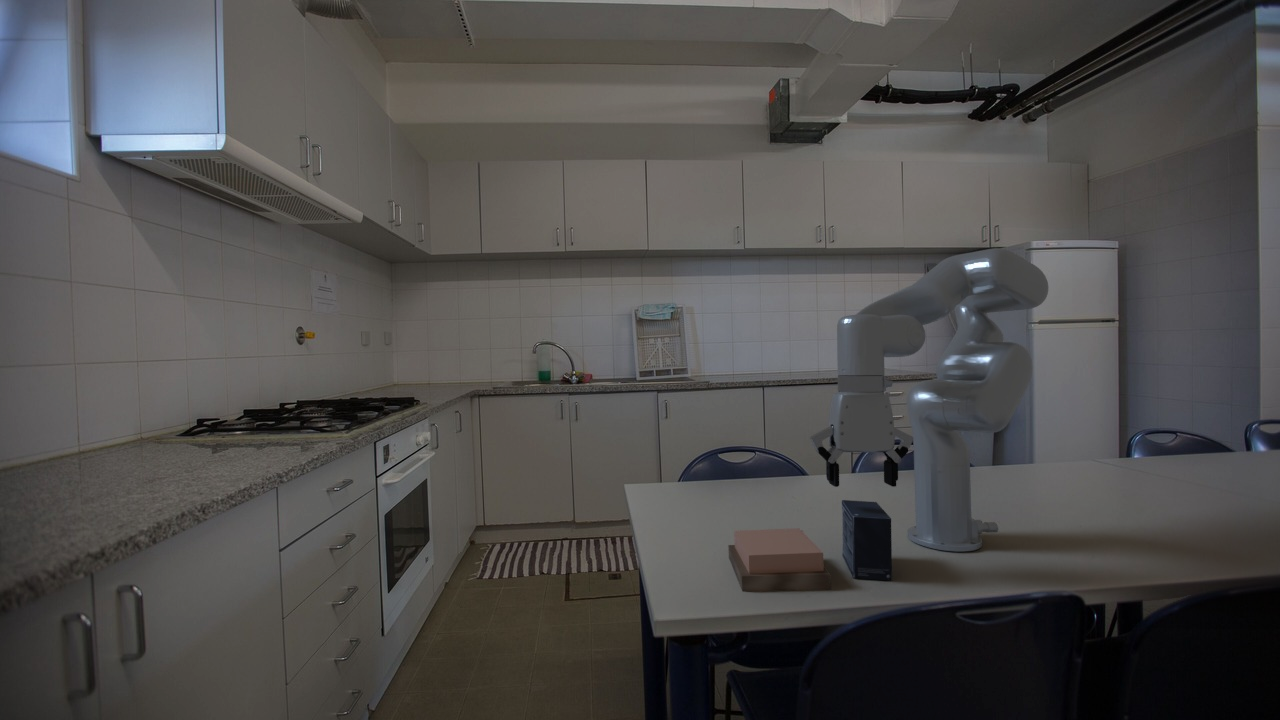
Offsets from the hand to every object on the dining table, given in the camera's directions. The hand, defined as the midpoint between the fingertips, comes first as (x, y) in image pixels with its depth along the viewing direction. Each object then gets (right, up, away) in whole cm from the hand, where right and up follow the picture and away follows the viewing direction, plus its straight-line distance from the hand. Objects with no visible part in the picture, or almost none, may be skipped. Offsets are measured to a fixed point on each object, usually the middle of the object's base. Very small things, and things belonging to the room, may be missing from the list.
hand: (862, 484), depth 90 cm
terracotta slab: (-15, -13, 0) cm, 20 cm away
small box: (+1, -15, 0) cm, 15 cm away
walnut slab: (-15, -16, 0) cm, 22 cm away
